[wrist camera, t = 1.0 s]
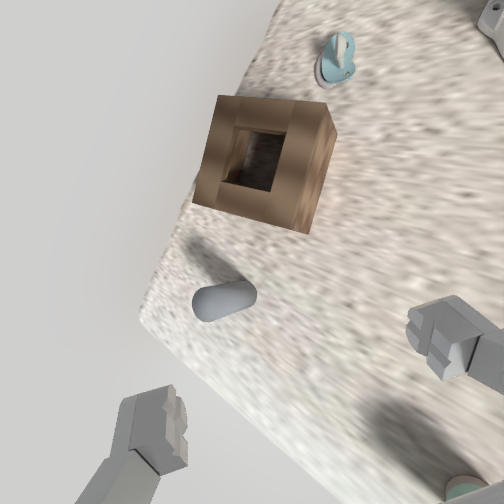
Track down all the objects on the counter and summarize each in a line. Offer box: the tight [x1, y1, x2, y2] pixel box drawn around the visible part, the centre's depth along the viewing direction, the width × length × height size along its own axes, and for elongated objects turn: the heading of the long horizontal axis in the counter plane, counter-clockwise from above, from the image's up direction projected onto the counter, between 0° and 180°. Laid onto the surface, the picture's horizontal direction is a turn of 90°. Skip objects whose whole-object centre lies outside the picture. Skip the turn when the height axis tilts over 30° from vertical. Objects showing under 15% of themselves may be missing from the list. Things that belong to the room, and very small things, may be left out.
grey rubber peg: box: [192, 281, 257, 322], centre depth 45 cm, size 5×5×12 cm
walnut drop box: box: [192, 95, 338, 234], centre depth 44 cm, size 16×16×10 cm
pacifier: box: [316, 32, 355, 89], centre depth 42 cm, size 7×6×6 cm
